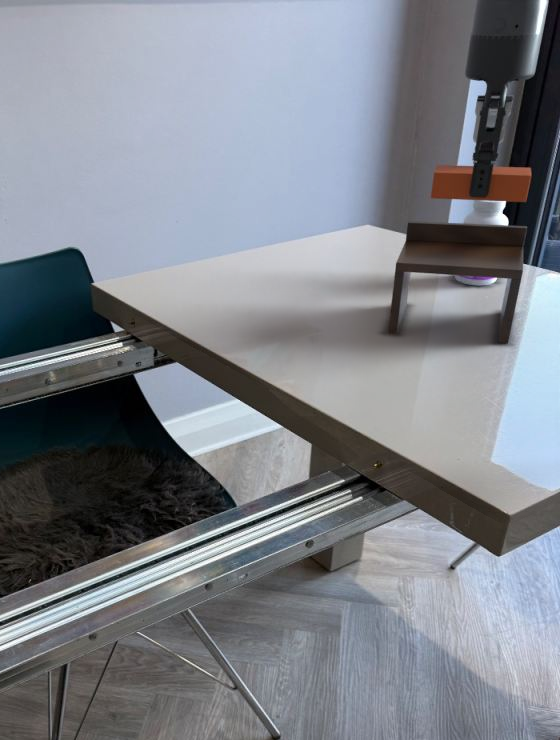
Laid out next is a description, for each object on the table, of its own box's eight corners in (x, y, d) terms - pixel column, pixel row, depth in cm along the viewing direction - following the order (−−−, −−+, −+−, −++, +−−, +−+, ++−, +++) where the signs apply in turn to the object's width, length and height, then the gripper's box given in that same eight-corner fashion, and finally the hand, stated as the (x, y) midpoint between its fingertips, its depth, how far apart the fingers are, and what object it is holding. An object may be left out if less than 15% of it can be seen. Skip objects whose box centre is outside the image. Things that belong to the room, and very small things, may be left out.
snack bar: (525, 193, 97) (530, 167, 95) (525, 202, 94) (531, 175, 92) (433, 190, 100) (437, 164, 99) (430, 198, 97) (434, 172, 95)
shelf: (509, 313, 116) (527, 226, 109) (507, 343, 106) (527, 250, 99) (398, 304, 121) (408, 220, 114) (387, 333, 111) (398, 243, 104)
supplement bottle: (447, 282, 128) (459, 199, 121) (464, 271, 132) (478, 191, 125) (486, 289, 125) (502, 205, 117) (503, 278, 129) (519, 196, 121)
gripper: (545, 34, 80) (510, 207, 90) (541, 24, 91) (511, 180, 101) (468, 35, 83) (442, 204, 92) (474, 26, 94) (450, 178, 103)
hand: (479, 191), depth 97 cm, fingers closed on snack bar, 4 cm apart
